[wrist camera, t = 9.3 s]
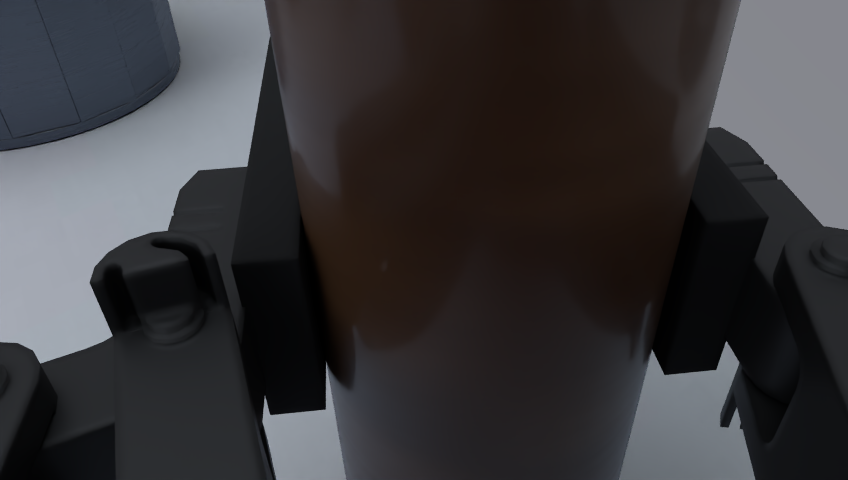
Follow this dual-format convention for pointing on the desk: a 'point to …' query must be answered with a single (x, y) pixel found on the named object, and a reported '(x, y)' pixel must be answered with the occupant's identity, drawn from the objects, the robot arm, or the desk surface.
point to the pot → (80, 64)
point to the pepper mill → (493, 218)
